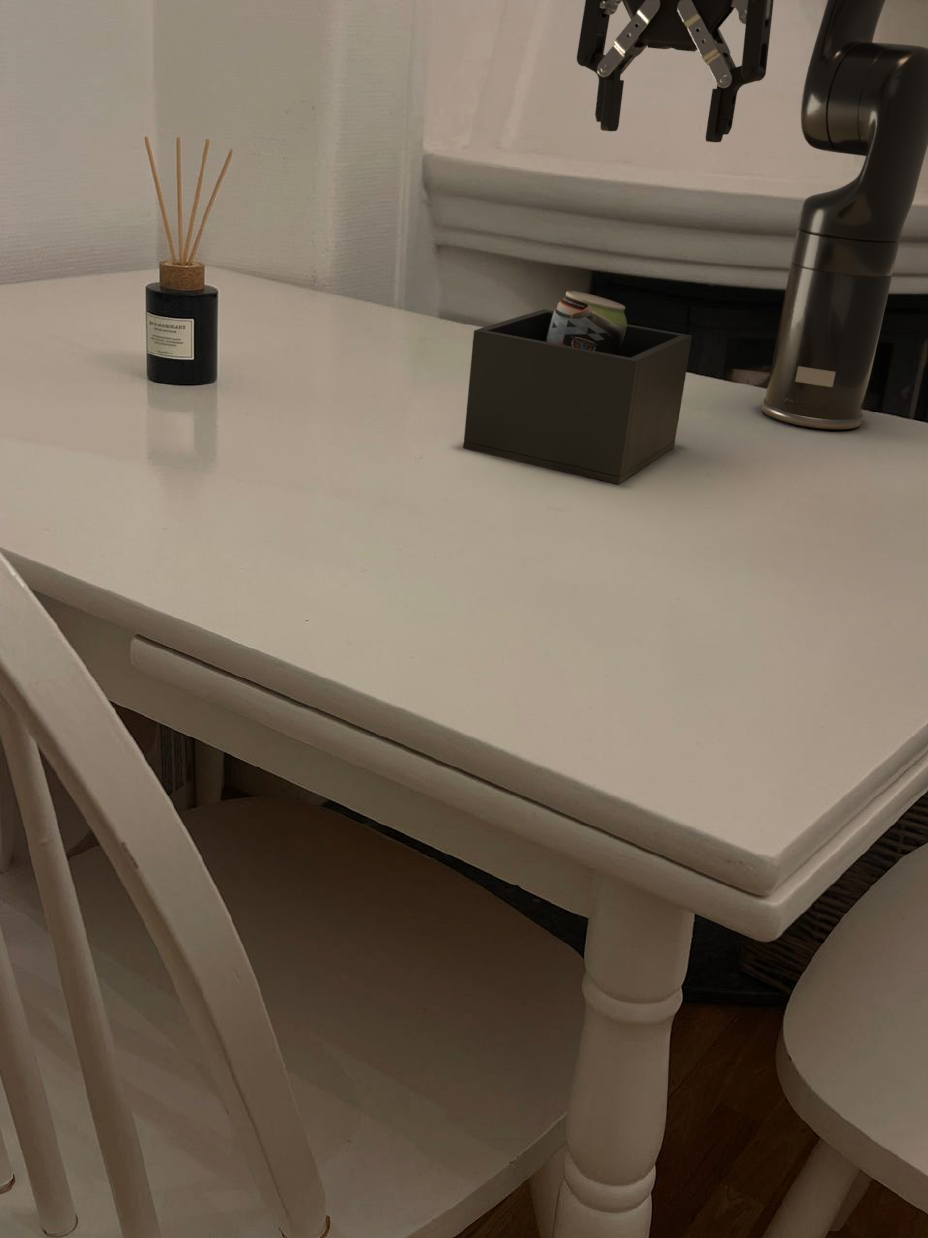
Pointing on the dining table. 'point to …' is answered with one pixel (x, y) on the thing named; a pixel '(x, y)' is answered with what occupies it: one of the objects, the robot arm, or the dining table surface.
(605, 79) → the robot arm
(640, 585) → the dining table surface
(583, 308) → the beverage can
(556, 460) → the waste bin
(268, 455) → the dining table surface
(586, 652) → the dining table surface
